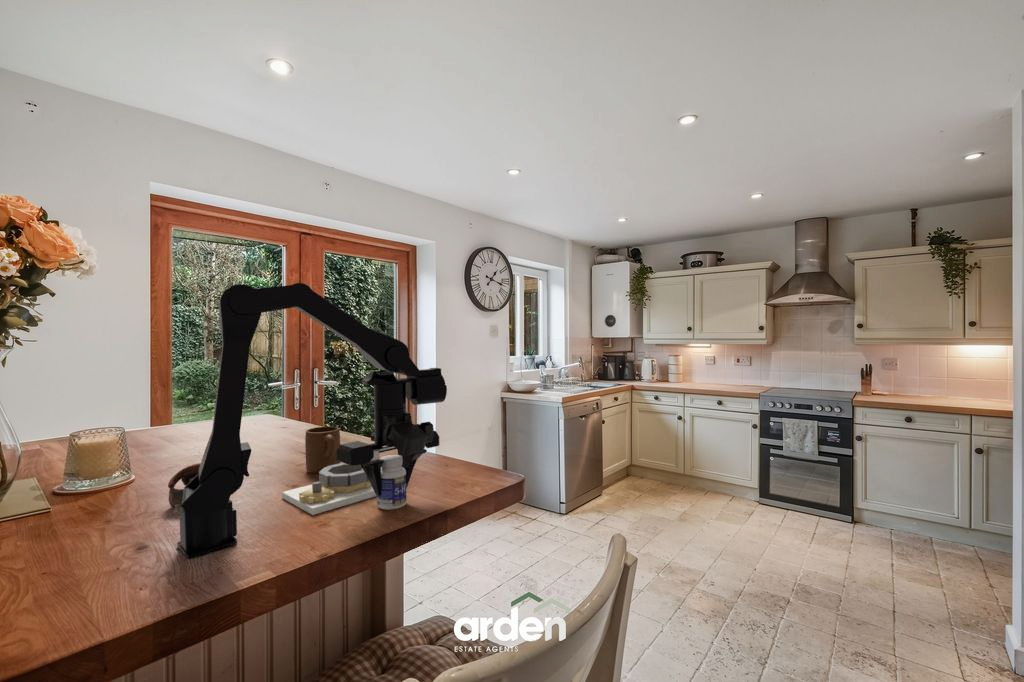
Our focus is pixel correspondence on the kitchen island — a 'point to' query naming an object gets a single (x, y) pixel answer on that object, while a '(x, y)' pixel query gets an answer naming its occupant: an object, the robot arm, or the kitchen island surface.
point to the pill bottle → (392, 483)
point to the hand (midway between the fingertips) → (391, 491)
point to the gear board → (332, 489)
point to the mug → (321, 448)
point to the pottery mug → (186, 477)
